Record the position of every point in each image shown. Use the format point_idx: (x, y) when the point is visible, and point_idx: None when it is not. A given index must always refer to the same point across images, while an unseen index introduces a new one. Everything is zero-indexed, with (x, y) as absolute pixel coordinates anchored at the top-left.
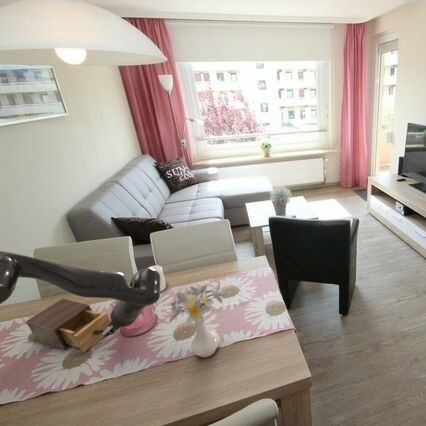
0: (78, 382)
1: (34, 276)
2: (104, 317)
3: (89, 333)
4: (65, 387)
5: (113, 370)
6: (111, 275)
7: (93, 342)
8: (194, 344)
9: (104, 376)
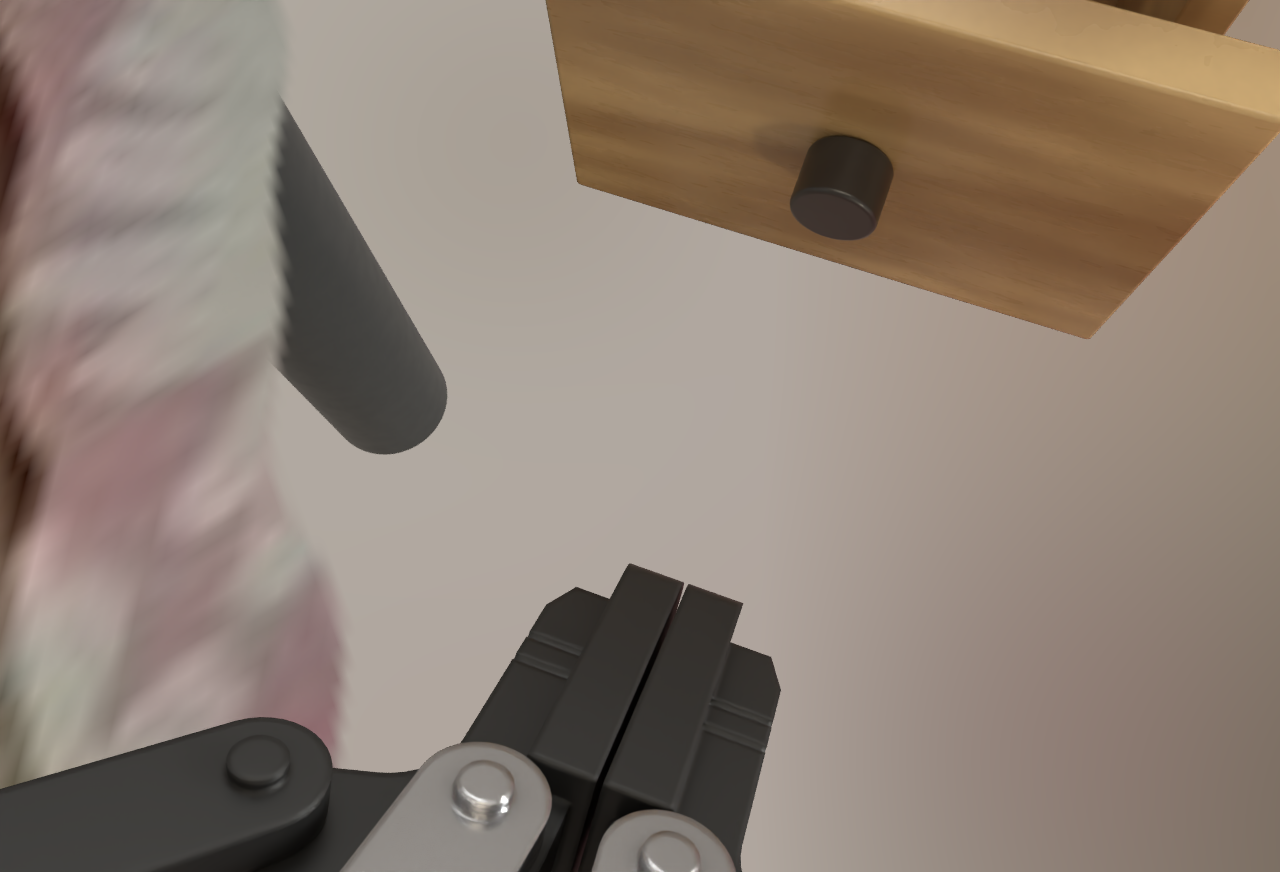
0: (77, 424)
1: None
2: (1161, 144)
3: (755, 92)
4: (36, 299)
5: None
6: None
7: (736, 214)
8: None
9: None
